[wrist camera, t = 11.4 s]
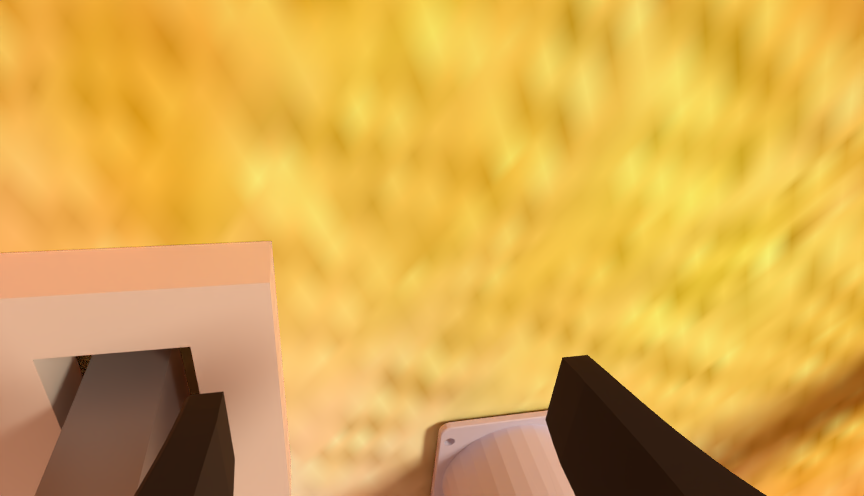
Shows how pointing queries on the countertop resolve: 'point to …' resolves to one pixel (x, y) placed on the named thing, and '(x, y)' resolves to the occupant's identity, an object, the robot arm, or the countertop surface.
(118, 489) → the key peg
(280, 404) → the socket block
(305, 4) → the countertop surface
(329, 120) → the countertop surface
